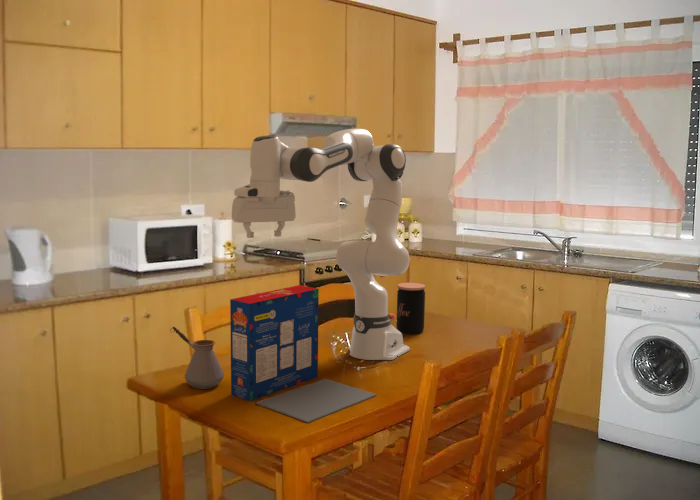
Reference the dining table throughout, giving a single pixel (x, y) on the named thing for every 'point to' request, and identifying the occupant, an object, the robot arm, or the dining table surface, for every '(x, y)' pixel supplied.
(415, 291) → the coffee jar
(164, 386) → the dining table surface
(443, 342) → the dining table surface
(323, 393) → the mat
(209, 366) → the coffee pot
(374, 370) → the dining table surface
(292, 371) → the cereal box
